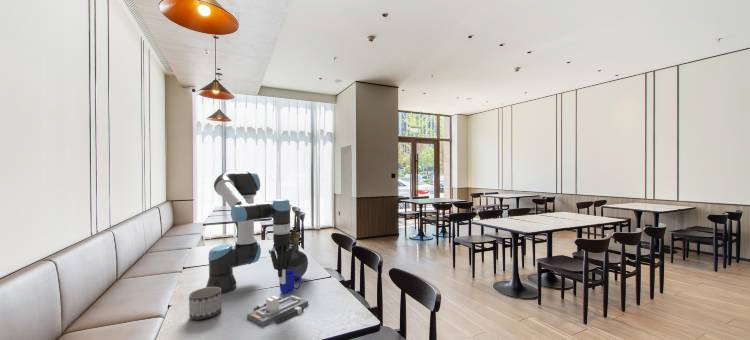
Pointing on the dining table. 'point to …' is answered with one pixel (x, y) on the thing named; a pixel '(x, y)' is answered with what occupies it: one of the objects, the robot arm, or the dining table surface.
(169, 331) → the dining table surface
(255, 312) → the panel
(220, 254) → the robot arm
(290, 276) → the mug
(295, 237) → the pitcher
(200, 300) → the planter
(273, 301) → the toggle
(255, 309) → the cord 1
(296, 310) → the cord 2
